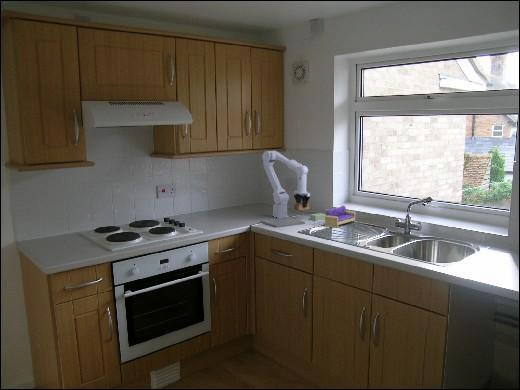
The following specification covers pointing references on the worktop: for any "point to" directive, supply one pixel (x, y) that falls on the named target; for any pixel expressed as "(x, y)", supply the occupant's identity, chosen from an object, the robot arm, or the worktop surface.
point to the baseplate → (282, 222)
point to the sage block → (317, 217)
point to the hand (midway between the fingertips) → (301, 206)
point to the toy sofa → (338, 216)
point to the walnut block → (301, 206)
